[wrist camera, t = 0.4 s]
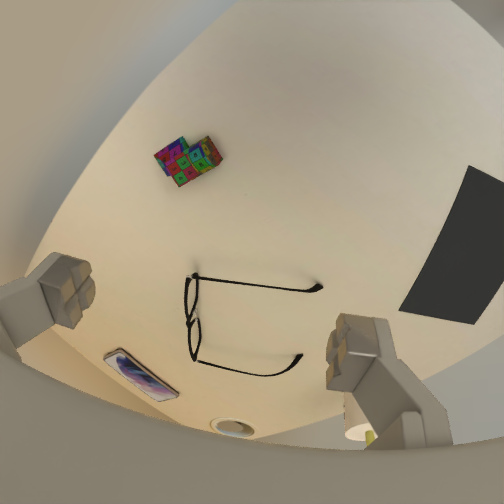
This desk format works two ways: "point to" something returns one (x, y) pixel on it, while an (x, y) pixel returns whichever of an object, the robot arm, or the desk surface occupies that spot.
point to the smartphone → (139, 376)
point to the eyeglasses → (189, 324)
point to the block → (188, 159)
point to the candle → (356, 421)
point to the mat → (464, 255)
